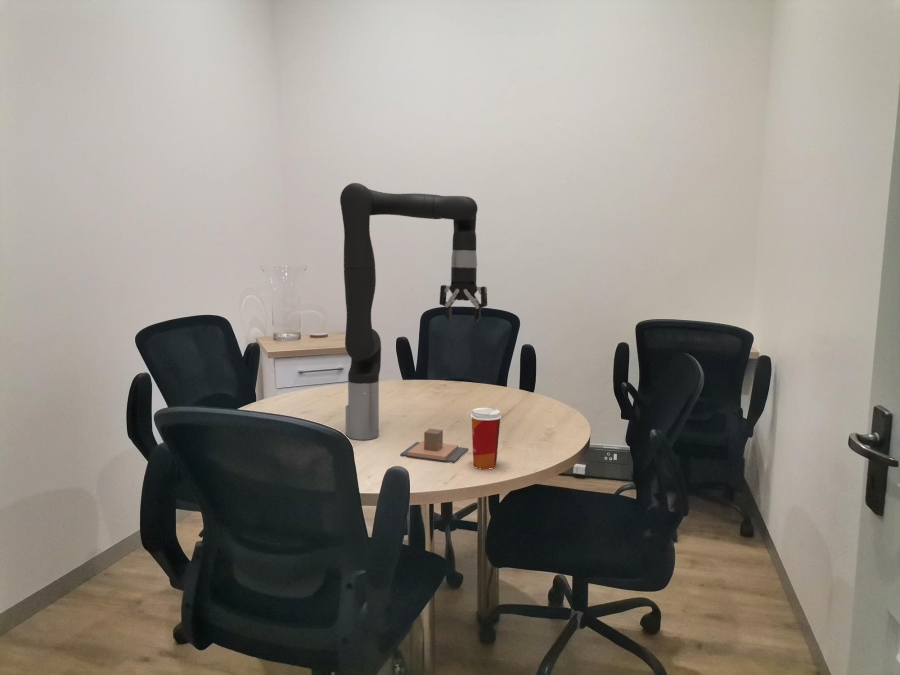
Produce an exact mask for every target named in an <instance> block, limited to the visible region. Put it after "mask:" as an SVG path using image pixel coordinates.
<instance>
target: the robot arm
mask: <svg viewBox="0 0 900 675" xmlns="http://www.w3.org/2000/svg"><path fill="white" fill-rule="evenodd" d="M339 198H340V199H339V203H340V209H341V210H340V211H341V215H342V222H343V233H344V236H343V239H344V240H343V281H344V292H345V293H344V295H345V296H344V297H345V298H344V299H345V308H346V325H345V337H344V338H345V340H344V347H345V350H346V353H347V354H348V356H349V357H350V360H351V361H350V367H349V370H348V373H347V375H348V376H347V380H348V382H347V390H348V391H347V393H348V394H347V395H348V396H347V398H348V399H347V401H348V402H347V405H346V406H345V436H346V435H347V436H348V438H350V439H352V440H357V441H367V440H368V441H369V440H374V439H377V438H378V437H379V435H380V432H379V431H380V428H379V426H380V424H379V423H380V422H379V421H380V412H379V411H380V410H379V409H380V407H379V406H380V402H379V400H380V398H379V397H380V391H379V390H380V389H379V387H380V386H379V384H380V372H381V365H382V364H381V361H382V359H381V358H382V341H381V337H380V335H379V333H378V332H377V331H376V330H375V329H373V326H372V307H373V302H374V298H375V293H376V287H377V286H376V284H377V283H376V282H377V279H376V278H377V277H376V276H377V275H376V260H375V255H374V254H375V252H374V248H373V245H372V244H373V243H372V239H371V234H370V232H371V230H370V223H371V222H370V219H371V216H378V215H379V216H381V215H382V216H383V215H389V216H401V217H407V218H408V217H409V218H416V219H427V220H429V219H430V220H442V219H444V220H453V222H452V224H453V234H452V246H451V247H452V250H451V251H452V252H451V262H450V263H451V266H450V268H451V269H450V285H446V284H441V285H440V291H439V305H440V306H443V307H444V308H445V310H444V311H445V312H444V313H445V319H447V321H452V318H453V316H452V315H453V308H452V305H453V304H454V303H455V302H456V301H466V302H467V301H470V303H471V304H472V305H473V307H474V314H473V315H474V317H473V318H474V319H473V320H474V322H479V320H481V315H482V313H481V311H482V309H483V308H485V307H487V306H488V289H487V286H485V285H484V286H478V285H477V268H478V258H477V257H478V256H477V233H476V227H477V226H476V225H477V213H478V210H479V209H478V205H477V202H476V200H474V198H472V197H470V196H466V195H464V196H463V195H440V194H432V193H431V194H429V193H416V192H415V193H391V192H389V193H387V192H382V191H378V190H375V189H374V190H373V189H370V188H368V187H367V186H365V184H362V183H358V182H352V183H349V184H348V185H347V184H346V186H345V187H344V188H343V189H342V191H341V192H340V197H339ZM449 291H450V292H451V295H450V297H449V298H448V300H447V293H448V292H449ZM477 292H478V294H479V295H480V301H479V299H478V298H477V296H476V293H477Z"/></svg>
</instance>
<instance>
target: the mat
mask: <svg viewBox="0 0 900 675" xmlns="http://www.w3.org/2000/svg"><path fill="white" fill-rule="evenodd" d="M420 442H421V441H416V442H415V443H413V444H412V445H410V446H408V448H406V449H405V450H404V451H402V452H401V453H400V454H399V456H400V457H404V456H406V457H407V458H412V457H413V458H414V459H419V458H420V460H429V461H435V462H436V461H437V462H442V461H443V462H442V463H444V462H445V463H450V462H452V463H451V464H456V463H457V462H458V461H459V460H460V459H461V458H462V457H463V456H464V455H465V454H466V453H467V452H468V451H469V447H461V446H460V447H459V446H458V449H457V450H456V451H455V452H454V453H453V454H452V455H451V456H449V457H448V458H447V459H446V460H438V459H431V458H423V457H416V456H408V451H409V450H411V449H412V448H414V447H415V446H416V445H418V444H419V443H420ZM467 450H468V451H467ZM466 451H467V452H466ZM465 452H466V453H465ZM464 453H465V454H464ZM463 454H464V455H463ZM462 455H463V456H462ZM461 456H462V457H461ZM460 457H461V458H460ZM459 458H460V459H459ZM458 459H459V460H458ZM457 460H458V461H457ZM456 461H457V462H456ZM455 462H456V463H455Z"/></svg>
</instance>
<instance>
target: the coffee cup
mask: <svg viewBox="0 0 900 675" xmlns="http://www.w3.org/2000/svg"><path fill="white" fill-rule="evenodd" d="M469 417H471V436H472V437H471V438H472V439H471V440H472V459H473V460H472V461H473V462H472V463H473V467H474V466H475V467H477V468H476V469H478V468H481V469H480V470H483V469H489V468H493V469H495V468H496V467H495V466H497V460H498V459H497V458H498V449H499V448H498V447H499V438H500V437H499V436H500V427H501V426H500V425H501V418H502V415H501V411H500V410H499V409H496V408H493V407H492V408H490V407H478V408H477V407H476V408H474V409H472V410H471V414H470V416H469ZM475 467H474V468H475ZM494 467H495V468H494ZM489 470H490V469H489Z"/></svg>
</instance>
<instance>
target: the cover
mask: <svg viewBox="0 0 900 675" xmlns="http://www.w3.org/2000/svg"><path fill="white" fill-rule="evenodd" d="M443 433H444V431H443V429H435V428H428V429H426V431H424V433H423V434H424V435H423V436H424V437H423V438H424V439H423V440H422V441H419V442H420V443H419V444H418V445H416V446H415V447H414V448H412V449H411V450H409V451H408V456H416V457H423V458H431V459H438V460H446V459H447V458H448V457H449V456H451V455H452V454H453V453H454V452H455V451H456V450H457V449H458V447H459V445H458V444H451V443H444V442H443V440H444V439H443V438H444V437H443V436H444V435H443Z"/></svg>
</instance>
